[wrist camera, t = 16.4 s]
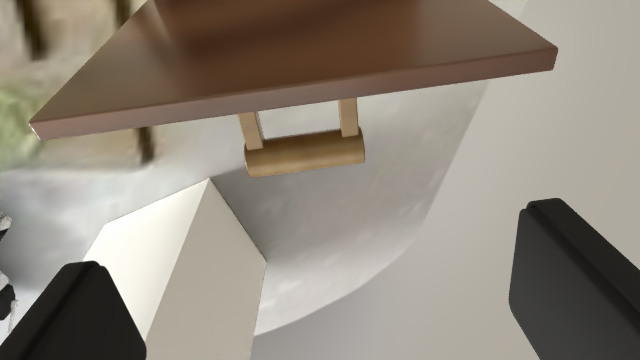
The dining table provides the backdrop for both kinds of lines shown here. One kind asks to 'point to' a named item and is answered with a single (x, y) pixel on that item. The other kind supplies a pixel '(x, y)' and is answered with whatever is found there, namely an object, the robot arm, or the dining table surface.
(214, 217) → the milk
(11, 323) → the robot toy
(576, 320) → the robot arm
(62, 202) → the dining table surface
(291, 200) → the dining table surface
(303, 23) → the chest lid
